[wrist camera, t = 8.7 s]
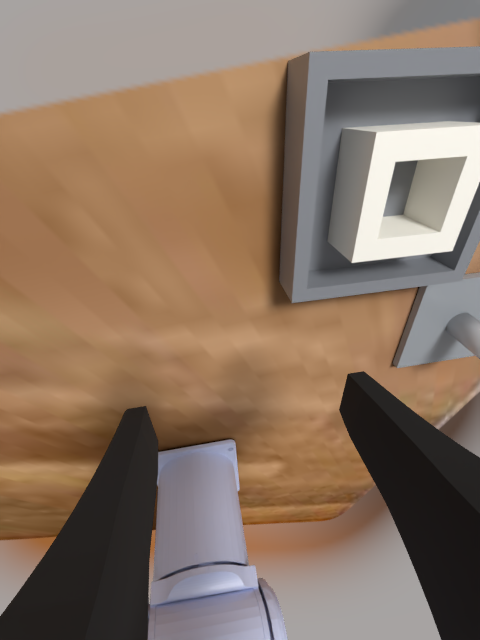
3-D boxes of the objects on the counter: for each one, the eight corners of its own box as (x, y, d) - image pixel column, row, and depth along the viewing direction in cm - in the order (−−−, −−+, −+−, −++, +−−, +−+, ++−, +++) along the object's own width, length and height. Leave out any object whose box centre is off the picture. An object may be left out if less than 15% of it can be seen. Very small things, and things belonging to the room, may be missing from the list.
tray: (431, 263, 20) (461, 281, 18) (279, 281, 19) (291, 303, 17) (508, 53, 14) (566, 43, 12) (288, 61, 13) (309, 51, 11)
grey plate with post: (476, 349, 26) (531, 394, 22) (392, 363, 25) (433, 412, 21) (523, 266, 22) (604, 304, 18) (422, 279, 21) (482, 321, 17)
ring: (448, 121, 15) (502, 123, 12) (415, 231, 18) (452, 251, 15) (342, 128, 14) (376, 132, 12) (327, 241, 17) (351, 262, 15)
